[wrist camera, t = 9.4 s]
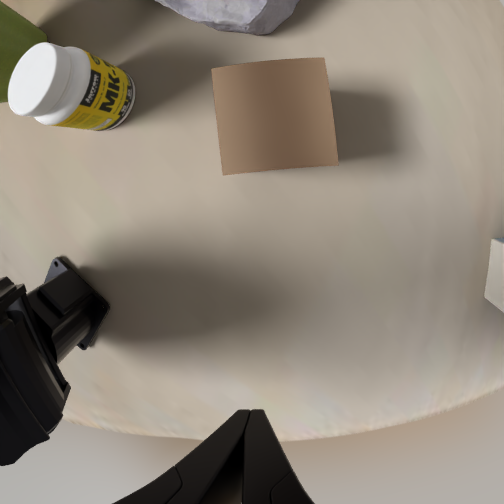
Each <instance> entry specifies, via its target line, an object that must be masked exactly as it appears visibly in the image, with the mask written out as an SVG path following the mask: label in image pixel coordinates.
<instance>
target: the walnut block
mask: <svg viewBox="0 0 504 504" xmlns="http://www.w3.org/2000/svg"><path fill="white" fill-rule="evenodd" d="M211 72H212V82H213V91H214V101H215V110H216V119H217V128H218V137H219V146H220V155H221V163H222V172H223V175H231V174H240V173H249V172H258V171H268V170H279V169H290V168H303V167H318V166H335V165H339V164H338V154H337V144H336V135H335V126H334V118H333V110H332V103H331V96H330V89H329V83H328V77H327V71H326V65H325V59H324V58H299V59H283V60H271V61H261V62H252V63H244V64H237V65H230V66H224V67H218V68H212V69H211Z"/></svg>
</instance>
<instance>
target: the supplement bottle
mask: <svg viewBox="0 0 504 504" xmlns="http://www.w3.org/2000/svg"><path fill="white" fill-rule="evenodd" d="M134 100H135V86H134V83H133V80H132V78H131V77H130V76H129V75H128V74H127V73H126V72H125V71H123V70H121V69H119V68H117V67H116V66H114V65H112V64H110V63H108V62H106V61H104V60H102V59H100V58H98V57H96V56H94V55H92V54H90V53H88V52H87V51H84V50H82V49H80V48H77V47H61V46H58V45H54V44H51V43H48V42H43V43H39V44H37V45H35V46H33V47H32V48H30V49H29V50H28V51H27V52H26V53H25V54H24V55H23V56H22V57H21V59H20V60H19V62H18V63H17V65H16V67H15V69H14V71H13V73H12V76H11V79H10V82H9V87H8V102H9V105H10V108H11V109H12V111H13V112H14V113H15V114H17V115H21V116H30V117H34V118H35V119H36V120H37V121H39V122H40V123H42V124H45V125H51V126H61V127H70V128H79V129H87V130H95V131H106V130H110V129H112V128H114V127H116V126H118V125H119V124H120V123H121V122H122V121H123V120H124V119H125V118H126V117H127V116H128V114H129V113H130V111H131V109H132V107H133V104H134Z"/></svg>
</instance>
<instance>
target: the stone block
mask: <svg viewBox="0 0 504 504" xmlns="http://www.w3.org/2000/svg"><path fill="white" fill-rule="evenodd" d="M155 1H157V2H159V3H161V4H162V5H163V6H165V7H168V8H171V9H172V10H174V11H175V12H177V13H178V14H180V15H182V16H184V17H186V18H188V19H190V20H192V21H194V22H198V23H203V24H206V25H207V26H209V27H213V28H215V29H216V30H220V31H234V32H240V33H250V34H255V35H261V34H269V33H271V32H272V31H274V30H275V29H276V27H277V26H279V25H280V24H281V23H282V22H283V21H285V20H286V19H288V17H290V16H291V15H292V14H293V11H294V9H295V6H296V5H297V3H298V2H299V0H155Z"/></svg>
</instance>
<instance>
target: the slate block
mask: <svg viewBox="0 0 504 504" xmlns="http://www.w3.org/2000/svg"><path fill="white" fill-rule="evenodd" d="M484 297H485V298H486V299H487V300H488V301H490V302H491V303H492V304H493V305H495V306H496V307H497V308H498V309H500V310H501V311H502V312H503V313H504V238H495V239H491V249H490V258H489V266H488V273H487V280H486V286H485V292H484Z"/></svg>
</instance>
